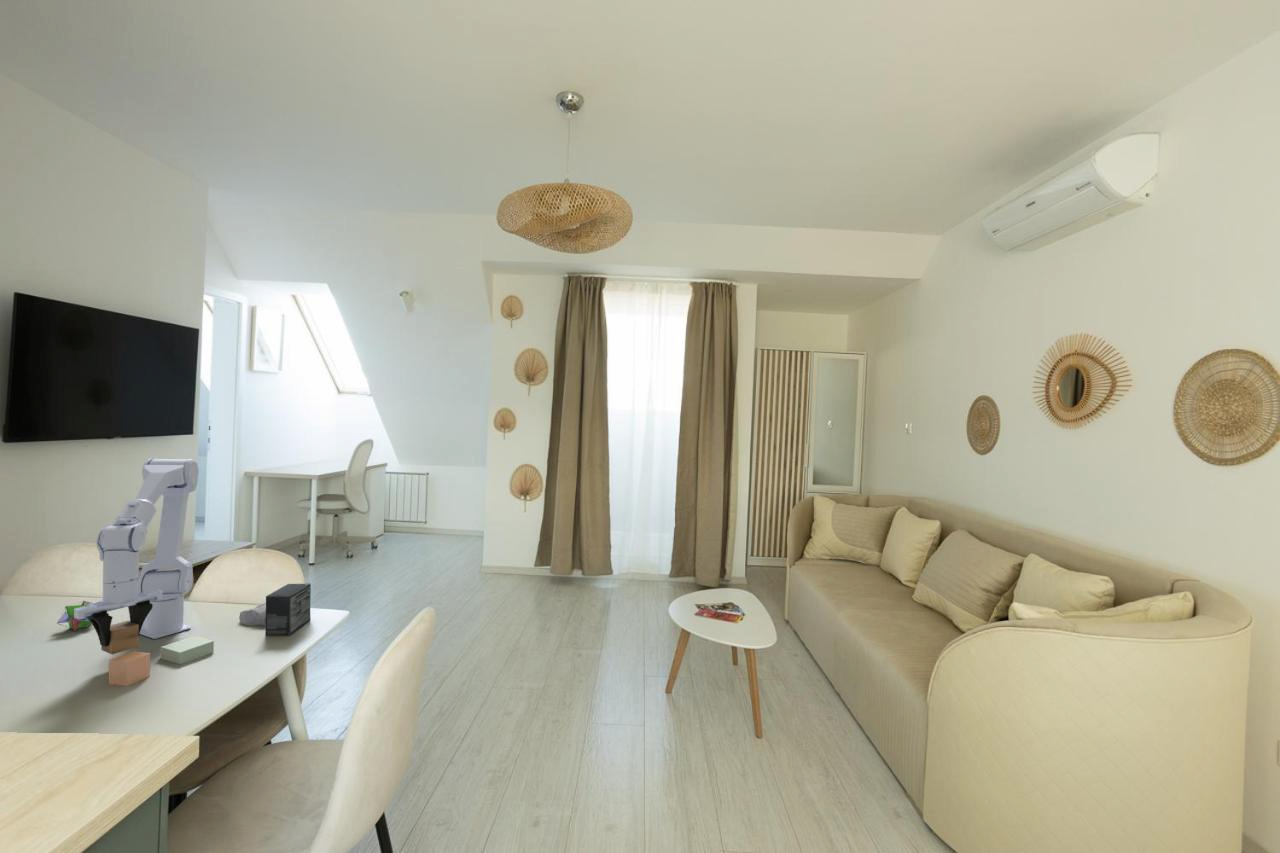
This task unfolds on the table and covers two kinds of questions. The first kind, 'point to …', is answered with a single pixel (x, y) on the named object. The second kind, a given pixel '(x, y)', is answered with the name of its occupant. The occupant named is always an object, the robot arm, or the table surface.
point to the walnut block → (122, 637)
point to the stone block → (254, 616)
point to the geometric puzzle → (73, 621)
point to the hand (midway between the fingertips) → (119, 640)
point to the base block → (187, 649)
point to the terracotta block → (129, 668)
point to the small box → (287, 609)
